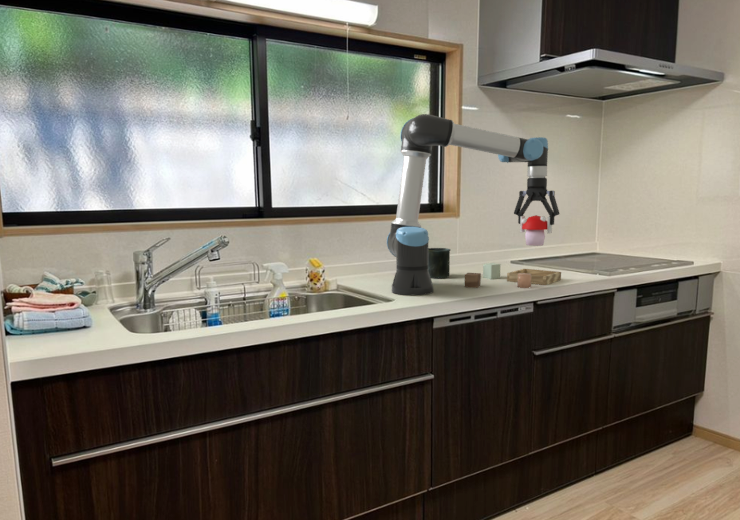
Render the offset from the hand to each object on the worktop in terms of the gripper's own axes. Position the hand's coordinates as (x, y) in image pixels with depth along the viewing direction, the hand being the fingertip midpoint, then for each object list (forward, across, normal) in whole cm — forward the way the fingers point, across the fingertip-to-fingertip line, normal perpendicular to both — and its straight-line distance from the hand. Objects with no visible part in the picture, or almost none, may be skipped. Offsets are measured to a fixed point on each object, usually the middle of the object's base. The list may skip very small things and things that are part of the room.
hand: (535, 232), depth 219 cm
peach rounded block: (+20, -3, +16) cm, 26 cm away
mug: (+20, +38, +15) cm, 45 cm away
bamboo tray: (+20, 0, 0) cm, 20 cm away
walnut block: (+20, +13, +27) cm, 36 cm away
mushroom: (+5, 0, 0) cm, 5 cm away
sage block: (+20, +17, +4) cm, 26 cm away
